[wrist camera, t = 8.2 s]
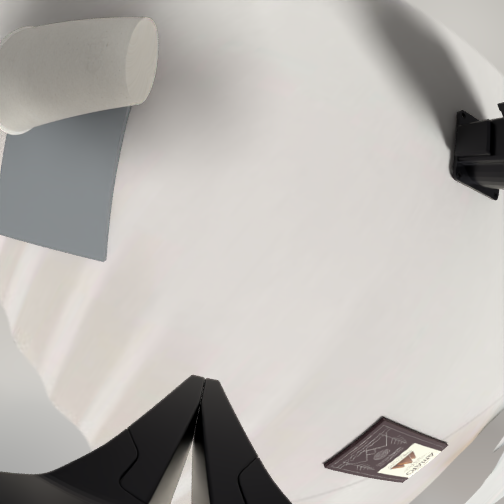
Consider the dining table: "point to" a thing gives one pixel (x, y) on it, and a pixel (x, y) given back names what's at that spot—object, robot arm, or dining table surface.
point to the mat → (63, 182)
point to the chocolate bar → (387, 453)
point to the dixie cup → (75, 69)
